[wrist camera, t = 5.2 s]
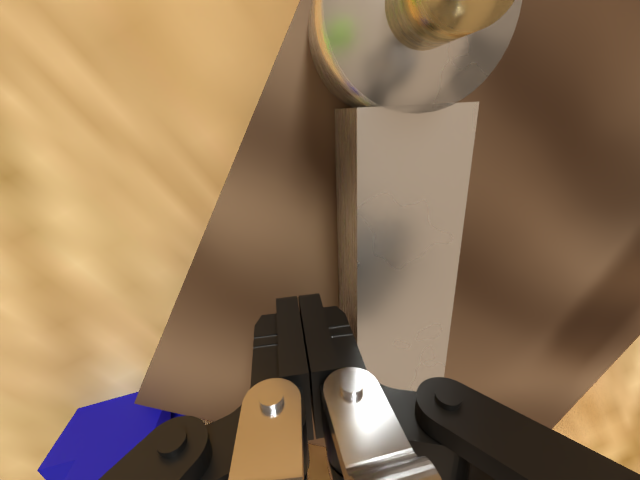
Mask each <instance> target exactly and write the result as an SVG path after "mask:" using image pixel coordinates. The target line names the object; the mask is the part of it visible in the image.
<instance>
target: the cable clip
mask: <svg viewBox="0 0 640 480" xmlns="http://www.w3.org/2000/svg"><path fill="white" fill-rule="evenodd" d="M137 395H138V392H136V393H133V394H129V395H125V396H122V397H118V398H114V399H111V400H107V401H104V402H100V403H96V404H93V405H89V406H86V407H82V408H78V409H77V411H76V413H75V414H74V416H73V417H72V419H71V420H70V422H69V423H68V425H67V426H66V428H65V429H64V431H63V432H62V434H61V435H60V437H59V438H58V440H57V441H56V443H55V444H54V446H53V447H52V449H51V450H50V452H49V453H48V455H47V457H46V458H45V460H44V461H43V463H42V464H41V466H40V467H39V469H38V470H37V471H38V472H39V473H40V474H41V475H42V476H43V477H44V478H45V479H46V480H98V479H99V478H101V477H102V476H103V475H104V474H105V473H106V472H107V471H108V470H109V469H111V468H112V467H113V466H114V465H115V464H116V463H117V462H118V461H119V460H120V459H122V458H123V457H124V456H125V455H126V454H127V453H128V452H129V451H130V450H132V449H133V448H134V447H135V446H136V445H137V444H138V443H139V442H140V441H142V440H143V439H144V438H145V437H146V436H147V435H148V434H149V433H150V432H151V431H153V430H154V429H155V428H156V427H158V426H159V425H161V424H162V423H164V422H166V421H168V420H170V419H172V418H175V417H179V416H186V415H182V414H178V413H173V412H169V411H164V410H160V409H156V408H151V407H147V406H142V405H138V404H134V402H135V400H136V397H137Z"/></svg>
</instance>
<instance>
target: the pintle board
mask: <svg viewBox="0 0 640 480" xmlns="http://www.w3.org/2000/svg"><path fill="white" fill-rule="evenodd" d="M312 1H313V0H300V2H299V4H298V7H297V9H296V12H295V14H294V17H293V19H292V21H291V24H290V26H289V29H288V31H287V34H286V36H285V38H284V41H283V43H282V46H281V48H280V50H279V53H278V55H277V58H276V60H275V63H274V65H273V67H272V70H271V72H270V75H269V77H268V80H267V82H266V84H265V87H264V89H263V92H262V94H261V97H260V99H259V101H258V104H257V106H256V109H255V111H254V114H253V116H252V118H251V121H250V123H249V126H248V128H247V131H246V133H245V135H244V138H243V140H242V143H241V145H240V147H239V150H238V152H237V155H236V157H235V160H234V162H233V164H232V167H231V169H230V172H229V174H228V177H227V179H226V181H225V184H224V186H223V189H222V191H221V194H220V196H219V198H218V201H217V203H216V206H215V208H214V211H213V213H212V215H211V218H210V220H209V223H208V225H207V228H206V230H205V232H204V235H203V237H202V240H201V242H200V244H199V247H198V249H197V252H196V254H195V257H194V259H193V261H192V264H191V266H190V269H189V271H188V274H187V276H186V278H185V281H184V283H183V286H182V288H181V291H180V293H179V295H178V298H177V300H176V303H175V305H174V308H173V310H172V312H171V315H170V317H169V320H168V322H167V325H166V327H165V329H164V332H163V334H162V337H161V339H160V341H159V344H158V346H157V349H156V351H155V354H154V356H153V358H152V361H151V363H150V366H149V368H148V371H147V373H146V375H145V378H144V380H143V383H142V385H141V388H140V390H139V392H138V395H137V397H136V400H135V402H134V404H138V405H142V406H147V407H151V408H156V409H160V410H164V411H169V412H173V413H178V414H182V415H186V416H194V417H197V418H199V419H204V420H208V421H213V422H214V421H217V420H219V419H221V418H223V417H225V416H227V415H229V414H231V413H232V412H234V411H235V410H236V409H237V408H238V407H240V405H241V404H242V402H243V399H244V397H245V395H246V393H247V392H248V391H249V390H250V386H251V371H252V356H253V341H254V326H255V324H256V323H257V321H258V320H259V318H260V317H261V315H267V314H275V313H276V298H284V297H292V296H297V299H298V296H300V295H308V294H317V293H319V294H320V298H321V301H322V305H323V307H330V306H337V307H338V308H339V271H338V233H337V196H336V158H335V121H334V109H341V108H351V107H349V106H347V105H346V104H344V103H343V102H341V101H340V100H339V99H337V98H336V97H335V96H334V95H333V94H332V93H331V92H330V91H329V89H328V88H327V87H326V86H325V84H324V83H323V81H322V80H321V78H320V76H319V74H318V72H317V70H316V68H315V65H314V62H313V59H312V56H311V51H310V46H309V37H308V24H309V15H310V9H311V5H312ZM461 102H479V109H478V117H477V124H476V132H475V140H474V148H473V155H472V163H471V171H470V179H469V186H468V194H467V202H466V210H465V218H464V225H463V233H462V241H461V249H460V256H459V264H458V272H457V280H456V287H455V295H454V303H453V311H452V318H451V326H450V334H449V342H448V349H447V357H446V365H445V373H444V377H445V378H450V379H453V380H456V381H458V382H460V383H462V384H464V385H466V386H468V387H470V388H472V389H474V390H476V391H478V392H480V393H482V394H484V395H485V396H487V397H489V398H491V399H493V400H495V401H497V402H499V403H501V404H503V405H505V406H507V407H509V408H511V409H513V410H515V411H517V412H519V413H521V414H523V415H525V416H526V417H528V418H530V419H532V420H534V421H536V422H538V423H540V424H542V425H544V426H546V427H548V428H550V429H552V428H553V427H554V426H555V425H556V424H557V423H558V422H559V421H560V420H561V419H562V418H563V416H564V415H565V414H566V413H567V412H568V411H569V410H570V409H571V408H572V407H573V406H574V405H575V404H576V403H577V402H578V400H579V399H580V398H581V397H582V396H583V395H584V394H585V393H586V392H587V391H588V390H589V389H590V388H591V387H592V386H593V384H594V383H595V382H596V381H597V380H598V379H599V378H600V377H601V376H602V375H603V374H604V373H605V372H606V371H607V369H608V368H609V367H610V366H611V365H612V364H613V363H614V362H615V361H616V360H617V359H618V358H619V357H620V356H621V355H622V353H623V352H624V351H625V350H626V349H627V348H628V347H629V346H630V345H631V344H632V343H633V342H634V341H635V340H636V339H637V337H638V336H639V335H640V0H522V4H521V9H520V14H519V18H518V21H517V24H516V28H515V31H514V33H513V36H512V38H511V40H510V43H509V45H508V47H507V49H506V51H505V53H504V54H503V56H502V58H501V60H500V61H499V63H498V64H497V66H496V67H495V68H494V70H493V71H492V72H491V74H490V75H489V76H488V77H487V78H486V79H485V81H484V82H483V83H482V84H481V85H479V86H478V87H477V88H476V89H475V90H474V91H473V92H471V93H470V94H469V95H468V96H466V97H465V98H463V99H462V100H460V101H458V102H456V103H461ZM298 306H299V300H298ZM339 309H340V308H339ZM312 420H313V414H312ZM313 432H314V440H309V441H308V443H309V444H313V445H318V446H322V447H326V445H325V439H324V438H319V439H316V435H315V428H314V421H313Z"/></svg>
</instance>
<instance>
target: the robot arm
mask: <svg viewBox="0 0 640 480" xmlns="http://www.w3.org/2000/svg"><path fill="white" fill-rule="evenodd" d="M298 300H299V306H298ZM312 414H313V420H312ZM313 421H314V428H315V435H316V439H319V438H324V439H325V445H326V451H327V464H328V471H329V475H330V479H331V480H640V474H638V473H636V472H634V471H632V470H630V469H628V468H626V467H624V466H622V465H620V464H618V463H616V462H614V461H612V460H610V459H608V458H606V457H605V456H603V455H601V454H599V453H597V452H595V451H593V450H591V449H589V448H587V447H585V446H583V445H581V444H579V443H577V442H575V441H573V440H571V439H569V438H567V437H566V436H564V435H562V434H560V433H558V432H556V431H554V430H552V429H550V428H548V427H546V426H544V425H542V424H540V423H538V422H536V421H534V420H532V419H530V418H528V417H526V416H525V415H523V414H521V413H519V412H517V411H515V410H513V409H511V408H509V407H507V406H505V405H503V404H501V403H499V402H497V401H495V400H493V399H491V398H489V397H487V396H485V395H484V394H482V393H480V392H478V391H476V390H474V389H472V388H470V387H468V386H466V385H464V384H462V383H460V382H458V381H456V380H453V379H450V378H445V377H433V378H429V379H426V380H425V381H423V382H422V383H421V384H420V385H419V387H418V388H417V391H409V390H400V389H394V388H390V387H387V386H385V385H382V384H381V383H379V382H378V381H377V379H376V378H375V377H374V376H373V375H372V374H371V373H369V372H368V371H367V369H366V367H365V364H364V361H363V359H362V356H361V353H360V351H359V348H358V346H357V343H356V340H355V338H354V335H353V332H352V330H351V327H350V325H349V322H348V319H347V317H346V314H345V313H344V312H343V311H342V310H340V309H339V308H338V307H337V306H330V307H323V305H322V301H321V298H320V294H319V293H317V294H308V295H300V296H298V299H297V296H292V297H284V298H276V313H275V314H267V315H261V317H260V318H259V320H258V321H257V323H256V324H255V326H254V341H253V356H252V371H251V386H250V390H249V391H248V392H247V393H246V395H245V397H244V399H243V402H242V404H241V405H240V407H238V408H237V409H236V410H235V411H234V412H232V413H231V414H229V415H227V416H225V417H223V418H221V419H219V420H217V421H214V422H212V423H210V424H208V425H205V423H204V422H203V421H202V420H201V419H199V418H197V417H194V416H179V417H175V418H172V419H170V420H168V421H166V422H164V423H162V424H161V425H159V426H158V427H156V428H155V429H154V430H153V431H151V432H150V433H149V434H148V435H147V436H146V437H145V438H144V439H143V440H142V441H140V442H139V443H138V444H137V445H136V446H135V447H134V448H133V449H132V450H130V451H129V452H128V453H127V454H126V455H125V456H124V457H123V458H122V459H120V460H119V461H118V462H117V463H116V464H115V465H114V466H113V467H112V468H111V469H109V470H108V471H107V472H106V473H105V474H104V475H103V476H102V477H101V478H99V479H98V480H308V468H309V449H308V441H309V440H314V432H313Z"/></svg>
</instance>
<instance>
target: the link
mask: <svg viewBox="0 0 640 480" xmlns="http://www.w3.org/2000/svg"><path fill="white" fill-rule="evenodd" d="M521 4H522V0H313V1H312V5H311V9H310V15H309V24H308V37H309V46H310V51H311V56H312V59H313V62H314V65H315V68H316V70H317V72H318V74H319V76H320V78H321V80H322V81H323V83H324V84H325V86H326V87H327V88H328V89H329V91H330V92H331V93H332V94H333V95H334V96H335V97H336V98H337V99H339V100H340V101H341V102H343V103H344V104H346V105H347V106H349V107H351V108H341V109H334V121H335V158H336V196H337V233H338V271H339V308H340V310H342V311H343V312H344V313H345V314H346V317H347V319H348V322H349V325H350V327H351V330H352V332H353V335H354V338H355V340H356V343H357V346H358V348H359V351H360V353H361V356H362V359H363V361H364V364H365V367H366V369H367V371H368V372H369V373H371V374H372V375H373V376H374V377H375V378H376V379H377V381H378V382H379V383H381V384H382V385H385V386H387V387H390V388H394V389H400V390H409V391H417V388H418V387H419V385H420V384H421V383H422V382H423V381H425V380H426V379H429V378H433V377H444V373H445V365H446V357H447V349H448V342H449V334H450V326H451V318H452V311H453V303H454V295H455V287H456V280H457V272H458V264H459V256H460V249H461V241H462V233H463V225H464V218H465V210H466V202H467V194H468V186H469V179H470V171H471V163H472V155H473V148H474V140H475V132H476V124H477V117H478V109H479V102H461V103H456V102H458V101H460V100H462V99H463V98H465V97H466V96H468V95H469V94H470V93H471V92H473V91H474V90H475V89H476V88H477V87H478V86H479V85H481V84H482V83H483V82H484V81H485V79H486V78H487V77H488V76H489V75H490V74H491V72H492V71H493V70H494V68H495V67H496V66H497V64H498V63H499V61H500V60H501V58H502V56H503V54H504V53H505V51H506V49H507V47H508V45H509V43H510V40H511V38H512V36H513V33H514V31H515V28H516V24H517V21H518V18H519V14H520V9H521Z"/></svg>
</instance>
